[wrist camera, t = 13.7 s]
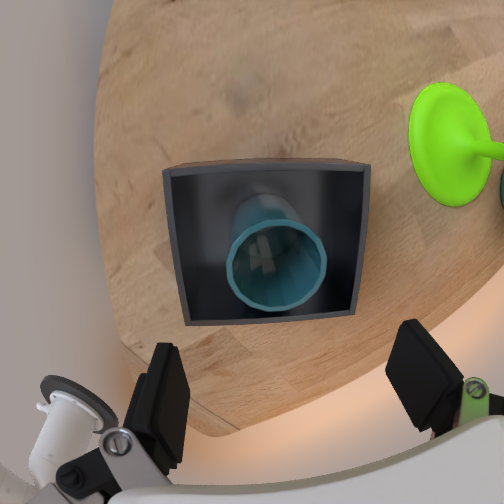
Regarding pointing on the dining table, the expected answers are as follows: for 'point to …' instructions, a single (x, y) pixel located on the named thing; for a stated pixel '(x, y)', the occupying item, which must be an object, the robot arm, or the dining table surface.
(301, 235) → the tumbler
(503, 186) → the cup
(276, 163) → the grey open box
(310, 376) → the dining table surface
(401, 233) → the dining table surface
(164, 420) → the robot arm
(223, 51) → the dining table surface
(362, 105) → the dining table surface
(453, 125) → the wineglass
